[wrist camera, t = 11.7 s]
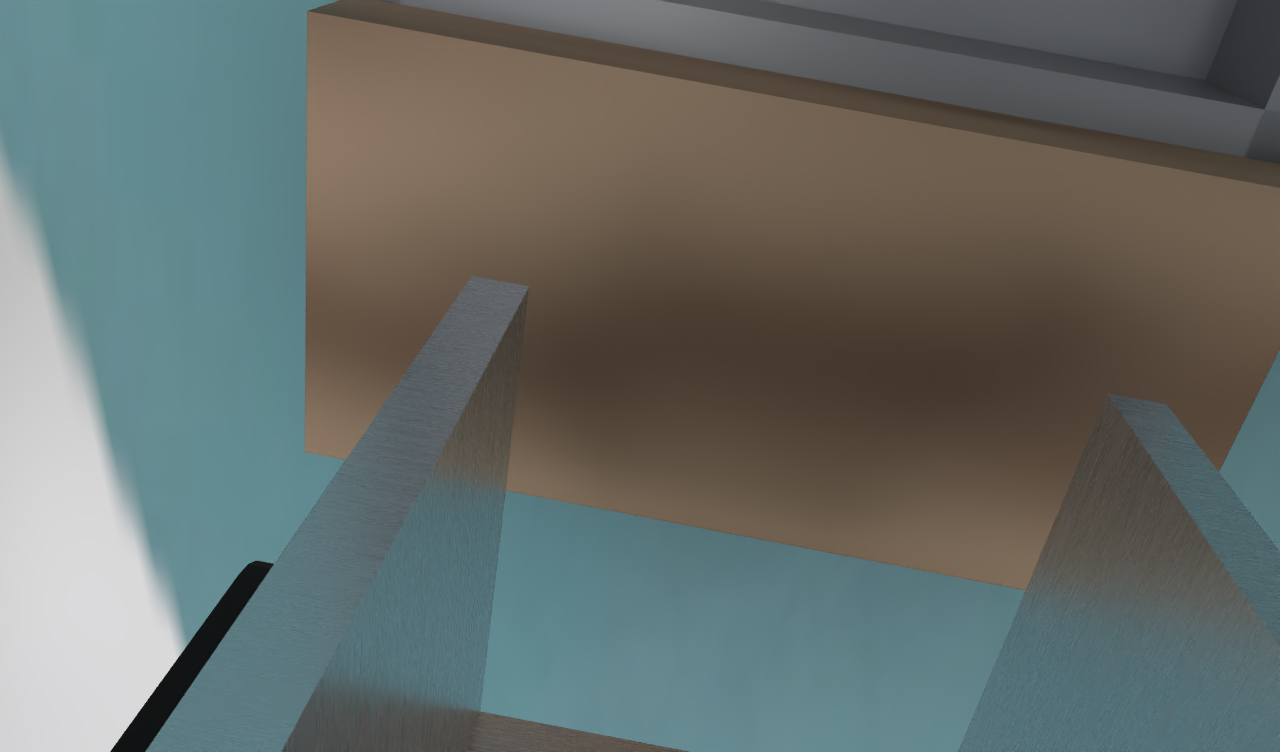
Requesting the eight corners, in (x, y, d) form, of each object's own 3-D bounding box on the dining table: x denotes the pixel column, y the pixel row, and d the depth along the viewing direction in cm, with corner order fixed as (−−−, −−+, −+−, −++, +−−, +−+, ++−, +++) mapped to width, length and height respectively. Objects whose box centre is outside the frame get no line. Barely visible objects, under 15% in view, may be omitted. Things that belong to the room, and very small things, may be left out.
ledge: (408, -23, 20) (307, 11, 16) (1219, 124, 20) (1353, 200, 15) (390, 341, 24) (304, 451, 19) (1074, 470, 23) (1148, 613, 19)
